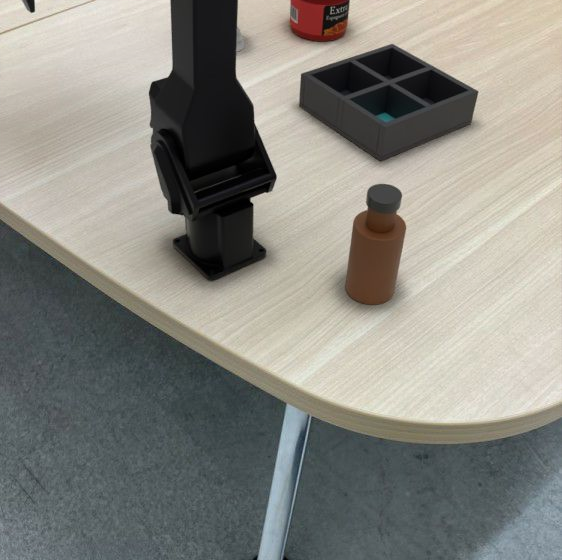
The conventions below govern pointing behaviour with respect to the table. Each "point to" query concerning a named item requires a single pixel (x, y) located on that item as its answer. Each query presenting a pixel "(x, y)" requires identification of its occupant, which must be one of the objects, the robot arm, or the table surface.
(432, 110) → the holder
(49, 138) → the table surface
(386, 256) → the spice bottle
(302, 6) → the canned food
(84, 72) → the table surface
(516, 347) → the table surface
